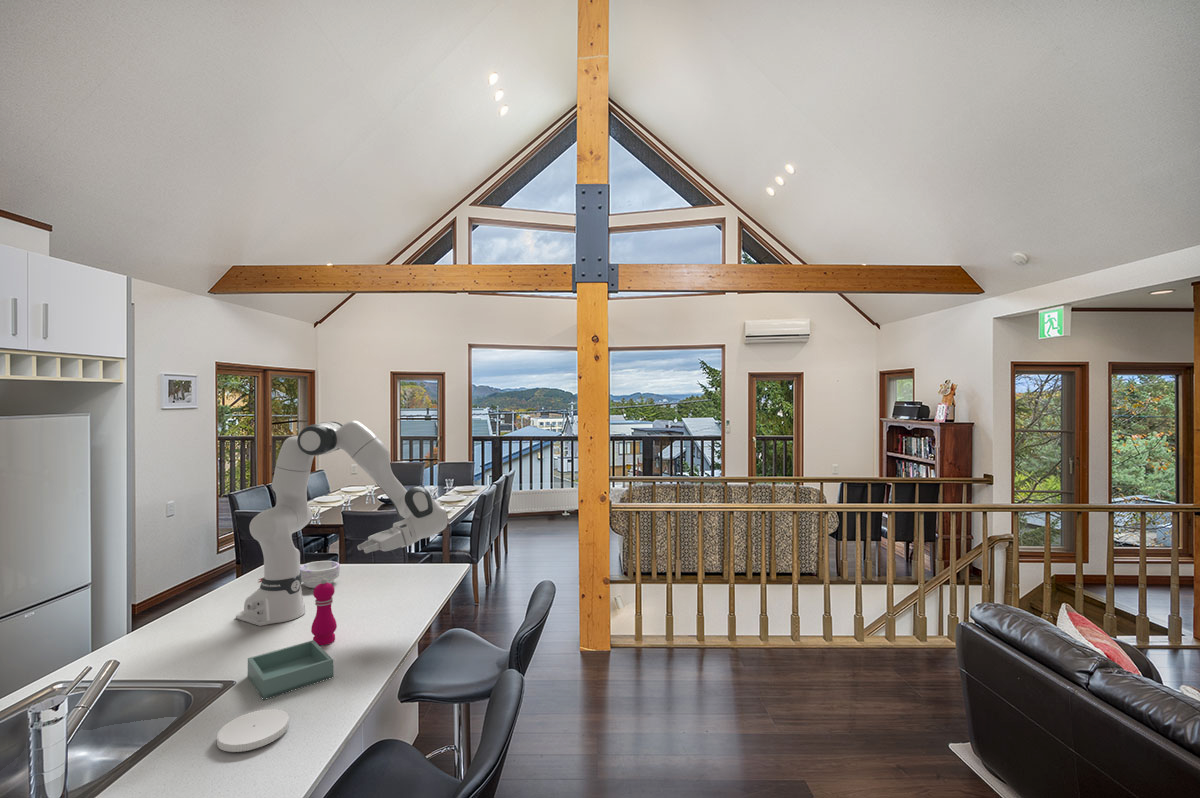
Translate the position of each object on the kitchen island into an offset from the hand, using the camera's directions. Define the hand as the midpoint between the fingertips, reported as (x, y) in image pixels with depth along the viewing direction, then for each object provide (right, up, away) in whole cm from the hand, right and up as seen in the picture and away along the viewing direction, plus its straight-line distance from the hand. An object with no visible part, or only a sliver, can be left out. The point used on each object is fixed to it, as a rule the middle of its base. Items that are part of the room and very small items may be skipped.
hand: (361, 549), depth 186 cm
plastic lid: (0, -28, -57) cm, 64 cm away
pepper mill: (-8, -27, -8) cm, 30 cm away
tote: (-7, -27, -30) cm, 41 cm away
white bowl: (-37, -27, +47) cm, 65 cm away
